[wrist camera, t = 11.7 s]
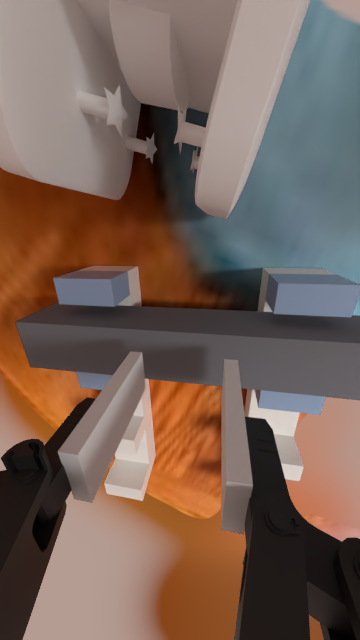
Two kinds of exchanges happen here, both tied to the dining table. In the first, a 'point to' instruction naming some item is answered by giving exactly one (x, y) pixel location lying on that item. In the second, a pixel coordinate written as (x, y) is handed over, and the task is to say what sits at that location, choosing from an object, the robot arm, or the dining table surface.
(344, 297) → the white notched holder
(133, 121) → the cable organizer
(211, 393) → the dining table surface
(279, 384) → the dark gray bar
